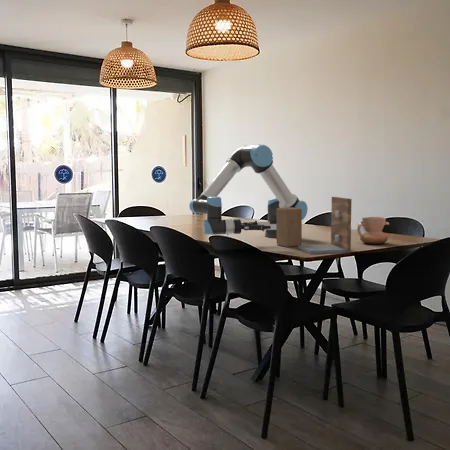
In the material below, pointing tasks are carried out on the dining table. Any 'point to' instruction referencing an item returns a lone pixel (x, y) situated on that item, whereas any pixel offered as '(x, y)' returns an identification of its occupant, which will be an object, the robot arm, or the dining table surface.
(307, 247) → the plate
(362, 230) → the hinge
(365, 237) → the ceramic jug
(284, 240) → the wooden block
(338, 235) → the cabinet side
